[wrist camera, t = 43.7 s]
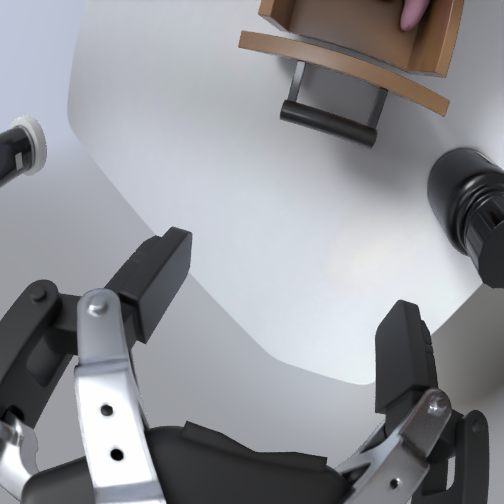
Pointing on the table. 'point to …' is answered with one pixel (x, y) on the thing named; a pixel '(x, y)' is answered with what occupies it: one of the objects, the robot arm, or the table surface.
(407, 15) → the video game controller
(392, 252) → the table surface
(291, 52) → the drawer
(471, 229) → the ink bottle
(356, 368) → the table surface
